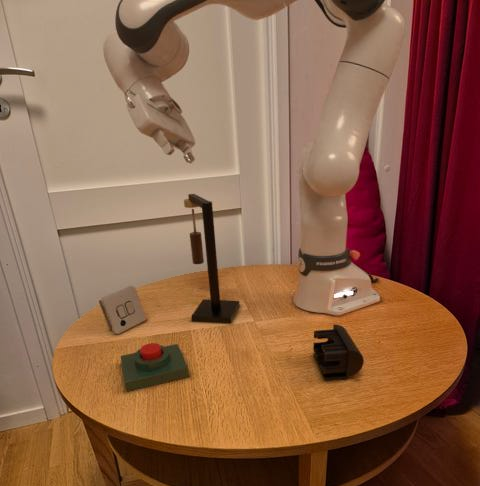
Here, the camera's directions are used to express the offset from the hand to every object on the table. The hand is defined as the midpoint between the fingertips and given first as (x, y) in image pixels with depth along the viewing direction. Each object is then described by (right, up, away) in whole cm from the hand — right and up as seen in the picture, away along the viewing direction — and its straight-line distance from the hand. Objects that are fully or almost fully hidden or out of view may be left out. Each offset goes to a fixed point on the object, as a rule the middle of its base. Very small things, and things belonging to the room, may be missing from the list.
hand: (181, 157), depth 89 cm
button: (-5, -43, -9) cm, 44 cm away
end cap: (+32, -45, -9) cm, 56 cm away
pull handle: (+2, -20, +20) cm, 29 cm away
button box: (-4, -46, -7) cm, 47 cm away
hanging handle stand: (+6, -32, +18) cm, 38 cm away
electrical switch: (-16, -37, +12) cm, 42 cm away
